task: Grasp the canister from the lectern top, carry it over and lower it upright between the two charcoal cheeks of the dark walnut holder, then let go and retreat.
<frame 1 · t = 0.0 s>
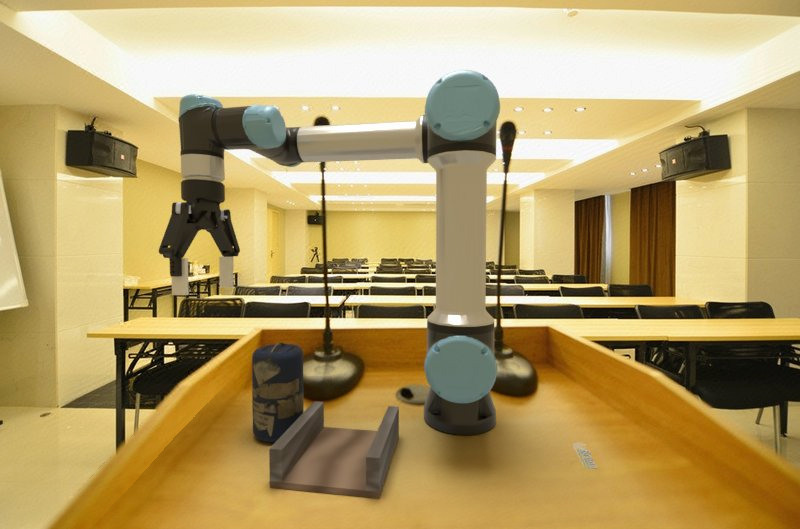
hand: (205, 291, 74), 28 cm above the lectern, fingers open, 13 cm apart
canister: (278, 434, 74), on the lectern
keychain: (587, 460, 66), on the lectern
holder: (341, 459, 65), on the lectern
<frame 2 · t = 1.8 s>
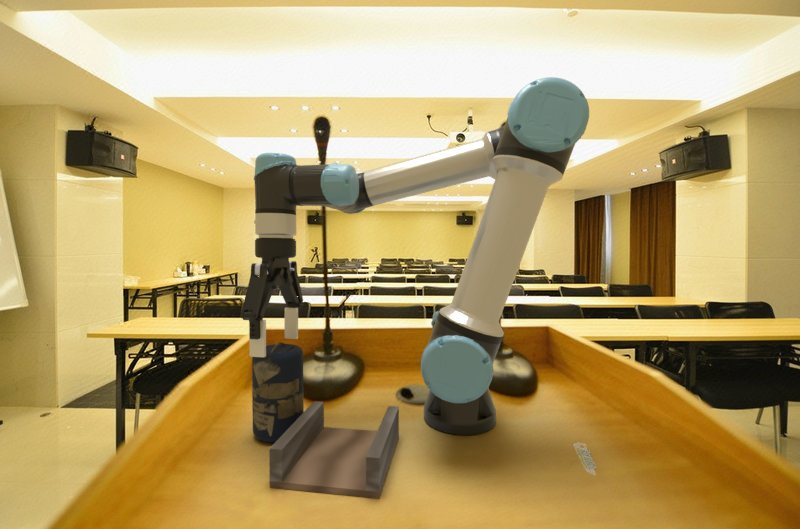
hand: (276, 346, 74), 17 cm above the lectern, fingers open, 13 cm apart
nothing on the lectern moved.
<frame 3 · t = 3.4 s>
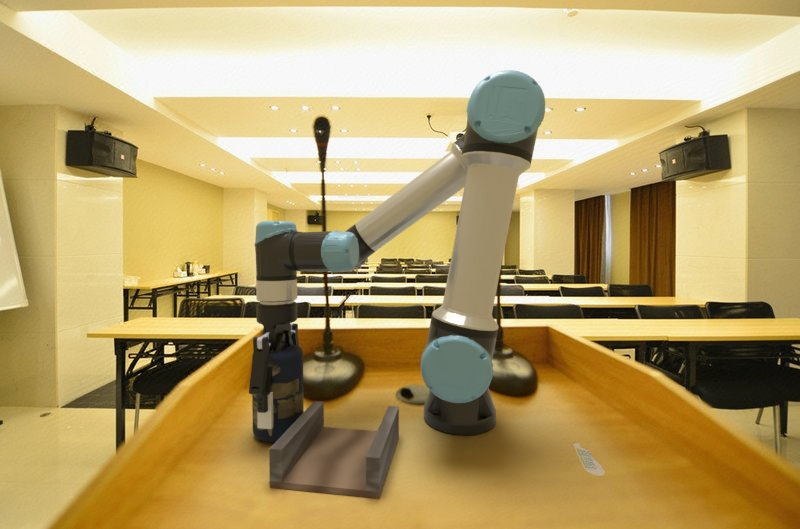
hand: (278, 415, 74), 4 cm above the lectern, fingers closed on canister, 9 cm apart
canister: (278, 434, 74), on the lectern, touching gripper
everything else where it was.
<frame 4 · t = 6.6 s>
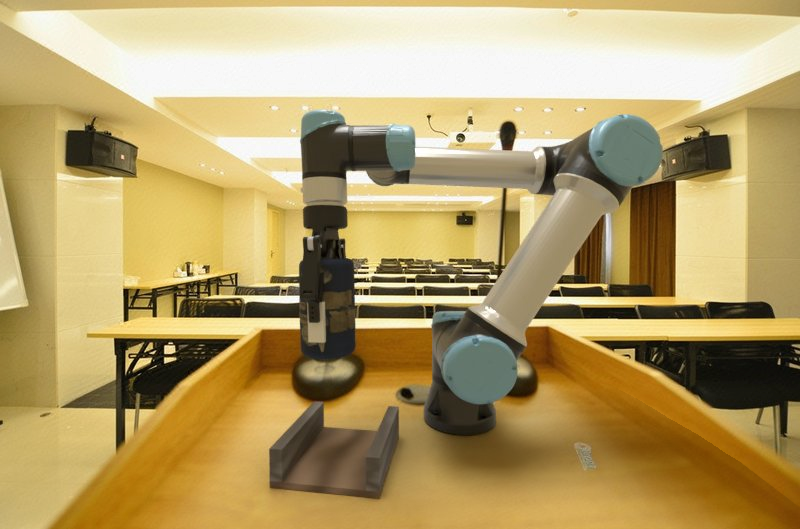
hand: (328, 334, 66), 21 cm above the lectern, fingers closed on canister, 9 cm apart
canister: (328, 356, 66), point 17 cm above the lectern, touching gripper
everything else where it was.
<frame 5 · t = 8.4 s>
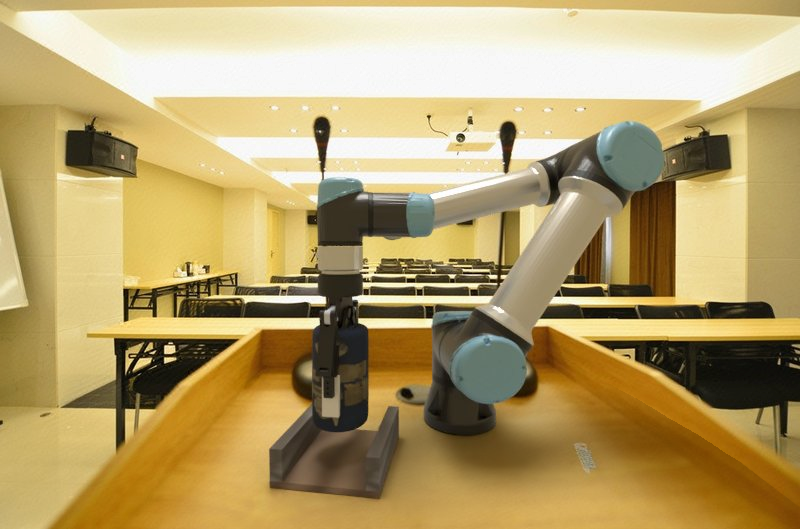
hand: (340, 403, 65), 10 cm above the lectern, fingers closed on canister, 9 cm apart
canister: (340, 424, 65), point 6 cm above the lectern, touching gripper
everything else where it was.
when the fingers open (6 cm above the lectern, at t = 9.6 s): canister drops 1 cm, resting on holder.
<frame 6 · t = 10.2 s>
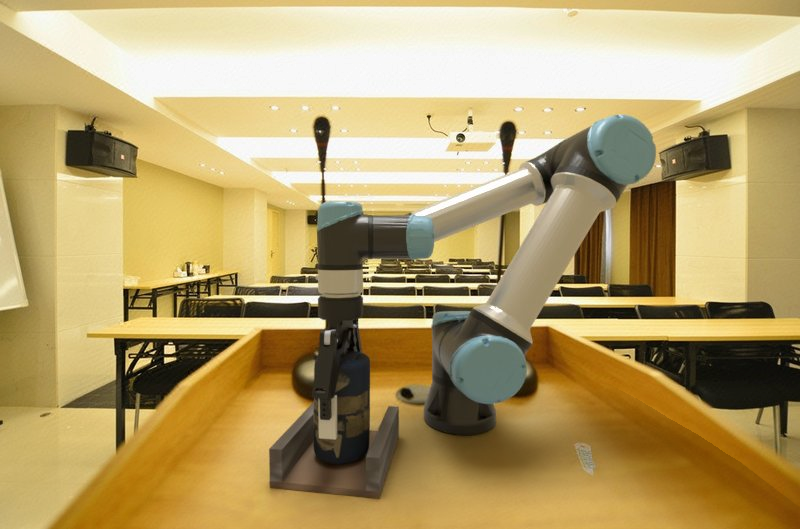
hand: (341, 418, 65), 7 cm above the lectern, fingers open, 13 cm apart
canister: (341, 454, 65), point 1 cm above the lectern, touching holder
everything else where it was.
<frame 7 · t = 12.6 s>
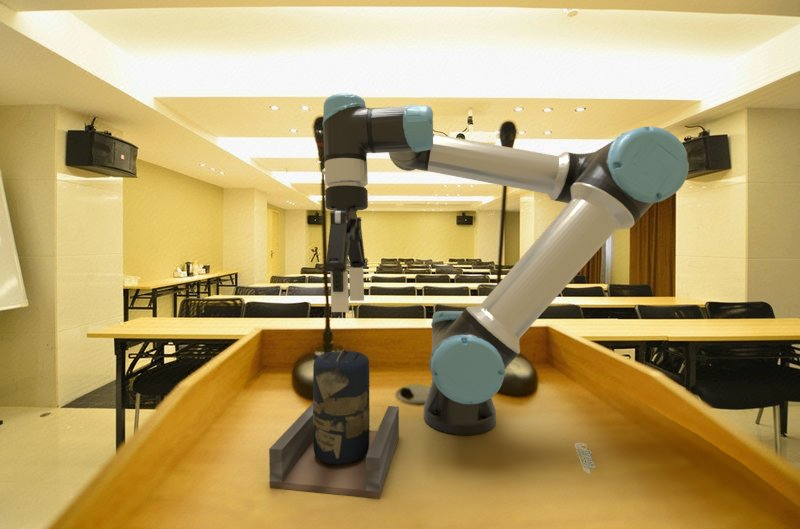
hand: (349, 305, 68), 26 cm above the lectern, fingers open, 13 cm apart
nothing on the lectern moved.
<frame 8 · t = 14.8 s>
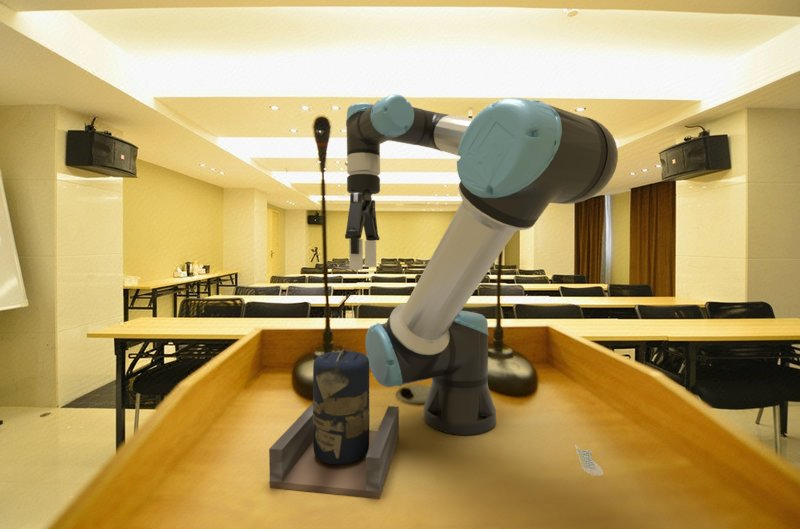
hand: (363, 268, 88), 32 cm above the lectern, fingers open, 13 cm apart
nothing on the lectern moved.
at the end: canister 0.0 cm off-centre on the holder, point 0.8 cm above the holder's base; canister tilted 0°; the gripper is holding nothing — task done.
